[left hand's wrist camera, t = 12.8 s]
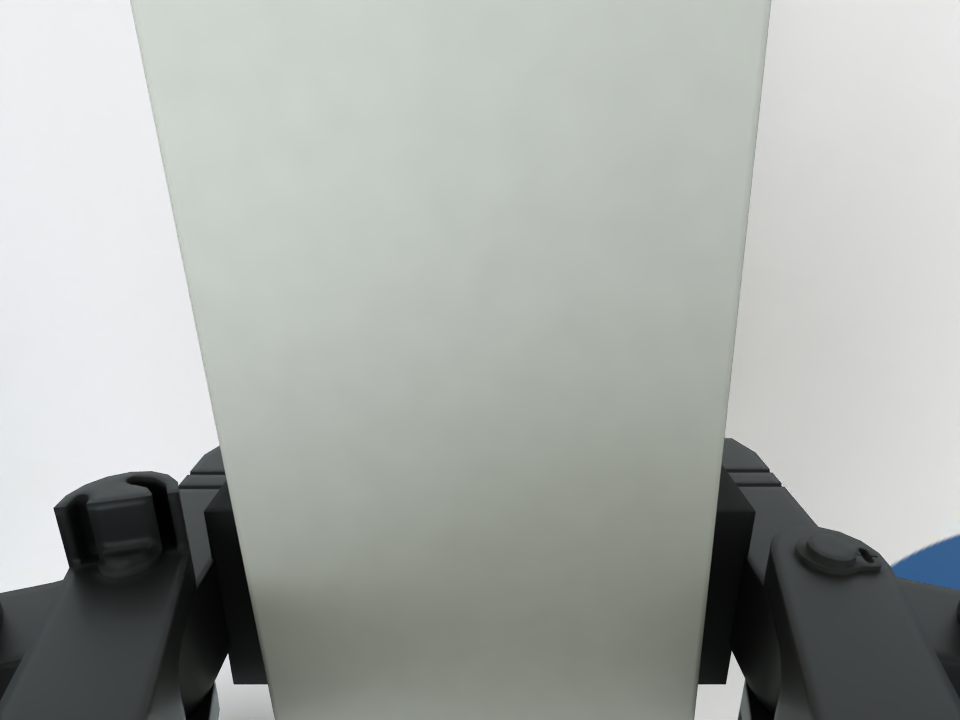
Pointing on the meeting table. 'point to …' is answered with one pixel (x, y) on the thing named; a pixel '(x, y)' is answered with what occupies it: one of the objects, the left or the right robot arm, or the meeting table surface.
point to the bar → (466, 334)
